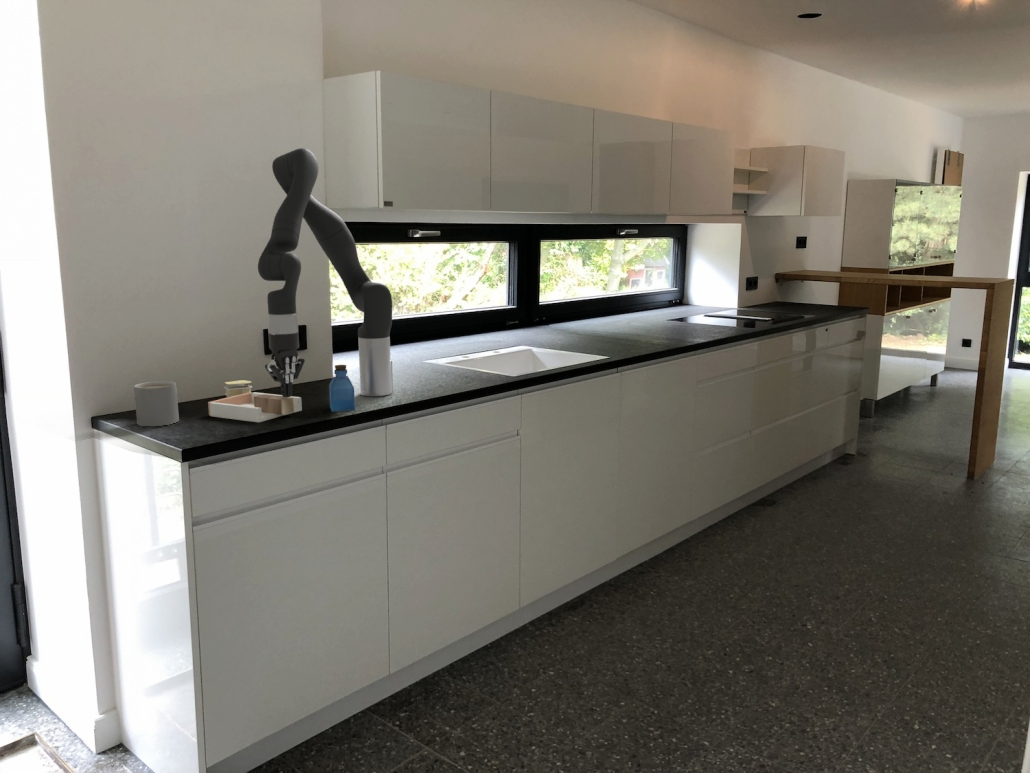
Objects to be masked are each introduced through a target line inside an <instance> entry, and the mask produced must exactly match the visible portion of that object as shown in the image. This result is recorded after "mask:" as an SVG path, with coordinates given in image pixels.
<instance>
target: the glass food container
mask: <svg viewBox="0 0 1030 773" xmlns="http://www.w3.org/2000/svg"><path fill="white" fill-rule="evenodd" d="M250 383H252V381H251V380H245V379H244V380H242V379H240V380H239V379H238V380H233V381H226V382H224V384H226V385H227V386H224V389H225V392H226V393H224V395H225V396H226V398H228V397H232V396H236V395H240V394H245V393H249V392H251V393H252V388H253V386H252V385H249V384H250Z"/></svg>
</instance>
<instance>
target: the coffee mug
mask: <svg viewBox="0 0 1030 773" xmlns="http://www.w3.org/2000/svg"><path fill="white" fill-rule="evenodd" d="M133 392H134V401H135V402H134V404H135V412H136V413H135V416H136V424H138V425H141V426H162V425H168V426H170V425H169V424H173V423H176V422H178V421H179V422H180V415H179V405H178V404H179V402H178V401H179V400H178V391H177V383H176V382H175V381H170V380H169V381H168V380H167V381H165V380H163V381H162V380H159V381H149V382H147V381H146V382H142V383H141V382H140V383H137V384H135V385H134V386H133ZM179 422H178V423H179ZM176 424H177V423H176ZM138 425H137V426H138ZM173 425H174V424H173ZM162 427H163V426H162Z"/></svg>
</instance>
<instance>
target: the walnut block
mask: <svg viewBox="0 0 1030 773" xmlns="http://www.w3.org/2000/svg"><path fill="white" fill-rule="evenodd" d="M268 394H269V393H265V394H263V395H259V396H255V397H254V407H258V408H261V412H264V413H272V414H280V415H283V416H286V415H285V414H287V415H289V414H288V413H290V414H293V413H292V412H294V404H293V397H294V396H293V397H283V396H277V395H278V394H275V395H268ZM294 413H295V412H294Z"/></svg>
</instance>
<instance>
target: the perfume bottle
mask: <svg viewBox="0 0 1030 773" xmlns="http://www.w3.org/2000/svg"><path fill="white" fill-rule="evenodd" d="M347 374H348V369H347V365H346V364H336V365H334V375H335V376H332V378H331V379H330V382H329V385H328V389H329V391H328V392H329V407H330V410H331V412H333V413H334V412H347V411H348V412H349V411H356V403H355V401H356V400H355V387H354V385H353V383H352V381H351V379H350V377H349V376H348V375H347Z"/></svg>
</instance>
